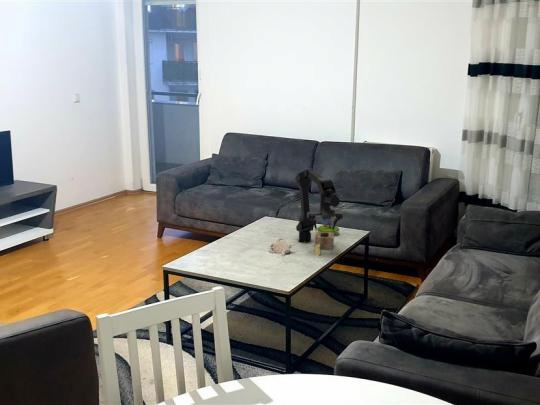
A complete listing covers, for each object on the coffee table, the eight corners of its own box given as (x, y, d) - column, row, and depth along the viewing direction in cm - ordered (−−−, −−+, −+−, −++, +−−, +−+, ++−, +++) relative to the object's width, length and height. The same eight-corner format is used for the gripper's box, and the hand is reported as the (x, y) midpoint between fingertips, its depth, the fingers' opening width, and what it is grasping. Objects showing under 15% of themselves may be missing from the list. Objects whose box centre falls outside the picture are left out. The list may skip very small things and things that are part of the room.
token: (314, 255, 331) (315, 246, 330) (315, 252, 336) (315, 243, 334) (319, 255, 330) (319, 246, 329) (320, 252, 335) (320, 244, 334)
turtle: (295, 257, 337) (298, 239, 337) (290, 257, 328) (292, 238, 329) (269, 253, 342) (271, 235, 343) (263, 252, 333) (266, 234, 334)
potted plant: (313, 234, 367) (313, 210, 363) (322, 229, 377) (322, 205, 374) (334, 238, 360) (335, 213, 356) (342, 232, 371) (343, 208, 367)
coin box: (314, 249, 341) (315, 237, 339) (316, 243, 350) (316, 231, 349) (332, 249, 340) (333, 237, 338) (333, 244, 349) (333, 232, 347)
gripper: (309, 206, 321) (309, 235, 324) (344, 206, 321) (343, 234, 325) (307, 201, 331) (306, 229, 335) (341, 201, 332) (340, 228, 336)
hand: (324, 230), depth 333 cm, fingers open, 9 cm apart
